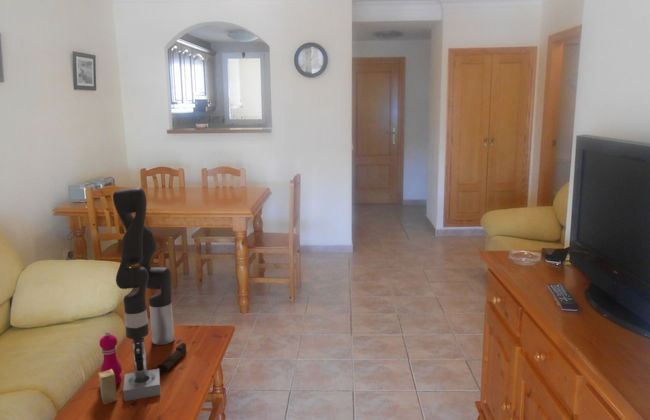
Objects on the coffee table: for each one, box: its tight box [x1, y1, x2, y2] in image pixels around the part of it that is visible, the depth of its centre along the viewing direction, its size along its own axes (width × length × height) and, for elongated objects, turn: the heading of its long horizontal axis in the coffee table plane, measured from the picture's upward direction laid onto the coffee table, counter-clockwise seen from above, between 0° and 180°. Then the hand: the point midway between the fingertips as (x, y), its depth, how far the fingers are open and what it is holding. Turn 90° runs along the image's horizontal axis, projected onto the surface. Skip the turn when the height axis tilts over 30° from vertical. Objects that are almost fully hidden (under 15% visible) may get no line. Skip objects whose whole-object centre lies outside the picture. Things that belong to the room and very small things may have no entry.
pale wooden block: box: [98, 369, 118, 405], centre depth 175 cm, size 4×4×10 cm
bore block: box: [122, 368, 161, 402], centre depth 182 cm, size 12×12×4 cm
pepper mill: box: [99, 331, 123, 385], centre depth 185 cm, size 7×7×20 cm
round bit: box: [132, 347, 148, 378], centre depth 180 cm, size 4×4×10 cm
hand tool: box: [157, 342, 187, 374], centre depth 201 cm, size 19×4×5 cm, turn 165°
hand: (140, 367), depth 180 cm, fingers closed on round bit, 4 cm apart
